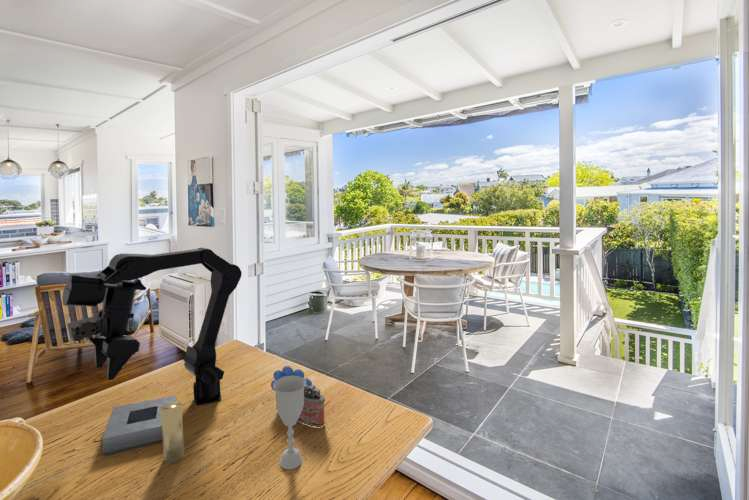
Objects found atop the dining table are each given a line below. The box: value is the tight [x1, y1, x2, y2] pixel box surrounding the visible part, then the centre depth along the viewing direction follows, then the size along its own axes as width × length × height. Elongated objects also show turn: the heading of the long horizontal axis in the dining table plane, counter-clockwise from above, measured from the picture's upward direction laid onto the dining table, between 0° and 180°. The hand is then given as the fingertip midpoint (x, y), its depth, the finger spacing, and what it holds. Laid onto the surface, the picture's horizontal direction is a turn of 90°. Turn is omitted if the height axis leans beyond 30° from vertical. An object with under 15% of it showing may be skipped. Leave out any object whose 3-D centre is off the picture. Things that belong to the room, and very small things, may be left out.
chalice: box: [273, 376, 306, 470], centre depth 81 cm, size 7×7×18 cm
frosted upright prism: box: [160, 400, 185, 464], centre depth 82 cm, size 4×4×12 cm
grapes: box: [270, 365, 313, 392], centre depth 102 cm, size 12×7×12 cm, turn 87°
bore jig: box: [101, 395, 177, 456], centre depth 92 cm, size 14×14×4 cm
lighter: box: [298, 384, 326, 427], centre depth 96 cm, size 8×3×10 cm, turn 65°
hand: (104, 373), depth 88 cm, fingers open, 9 cm apart
